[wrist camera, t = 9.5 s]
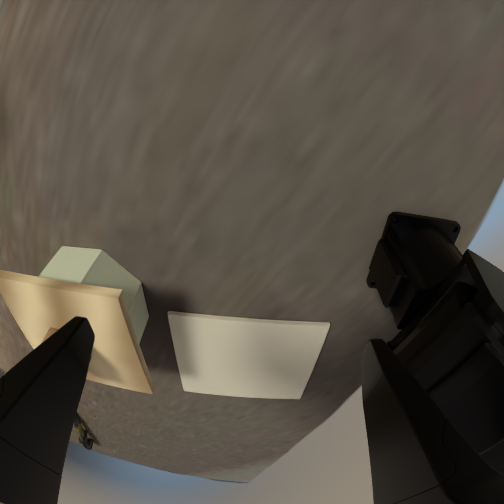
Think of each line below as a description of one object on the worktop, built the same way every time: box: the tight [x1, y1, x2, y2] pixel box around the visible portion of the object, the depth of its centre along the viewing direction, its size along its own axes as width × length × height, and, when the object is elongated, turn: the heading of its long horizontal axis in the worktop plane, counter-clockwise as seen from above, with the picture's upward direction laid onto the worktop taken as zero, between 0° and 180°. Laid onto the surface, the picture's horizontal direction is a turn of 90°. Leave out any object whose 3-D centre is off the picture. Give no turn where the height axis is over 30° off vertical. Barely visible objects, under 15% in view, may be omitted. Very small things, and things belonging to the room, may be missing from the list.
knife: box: [74, 414, 93, 450], centre depth 50 cm, size 23×2×5 cm, turn 162°
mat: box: [168, 311, 330, 399], centre depth 29 cm, size 14×14×1 cm
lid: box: [0, 270, 155, 394], centre depth 19 cm, size 12×12×5 cm
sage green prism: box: [38, 246, 149, 344], centre depth 23 cm, size 10×10×5 cm
